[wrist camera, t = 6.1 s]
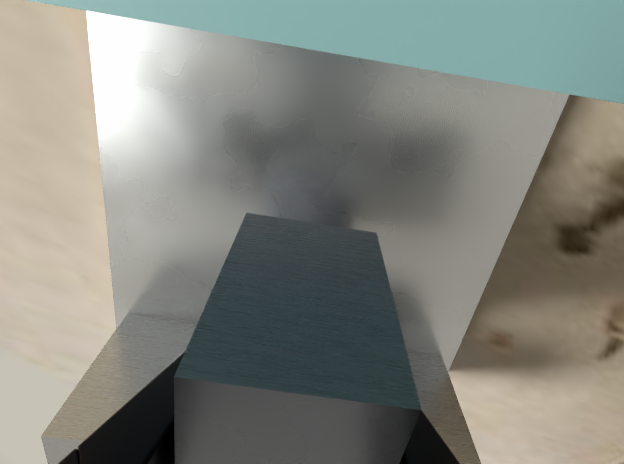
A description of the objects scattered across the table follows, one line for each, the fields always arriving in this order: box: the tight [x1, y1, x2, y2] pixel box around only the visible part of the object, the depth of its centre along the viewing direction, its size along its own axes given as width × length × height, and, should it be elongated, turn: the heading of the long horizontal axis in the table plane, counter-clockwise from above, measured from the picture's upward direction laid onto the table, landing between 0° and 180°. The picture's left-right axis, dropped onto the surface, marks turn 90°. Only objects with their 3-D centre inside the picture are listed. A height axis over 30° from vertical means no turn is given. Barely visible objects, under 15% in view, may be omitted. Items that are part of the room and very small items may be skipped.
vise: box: [41, 11, 570, 464], centre depth 10 cm, size 13×17×6 cm
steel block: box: [174, 213, 422, 464], centre depth 9 cm, size 4×5×6 cm
